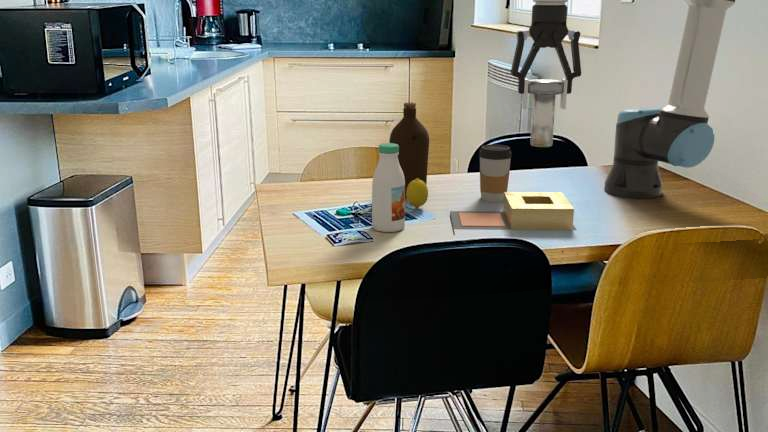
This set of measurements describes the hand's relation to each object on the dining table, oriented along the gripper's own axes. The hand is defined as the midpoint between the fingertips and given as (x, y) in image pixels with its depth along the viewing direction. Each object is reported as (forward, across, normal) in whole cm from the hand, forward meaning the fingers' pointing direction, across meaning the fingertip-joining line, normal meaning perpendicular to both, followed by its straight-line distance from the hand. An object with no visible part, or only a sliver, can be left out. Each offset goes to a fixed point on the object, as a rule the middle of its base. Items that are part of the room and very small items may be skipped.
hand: (543, 108), depth 171 cm
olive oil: (+28, +30, -27) cm, 49 cm away
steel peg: (+8, 0, 0) cm, 8 cm away
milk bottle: (+28, +35, +2) cm, 45 cm away
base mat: (+28, +6, 0) cm, 29 cm away
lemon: (+28, +28, -14) cm, 42 cm away
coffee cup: (+28, +8, -19) cm, 35 cm away
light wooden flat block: (+27, 0, 0) cm, 27 cm away
